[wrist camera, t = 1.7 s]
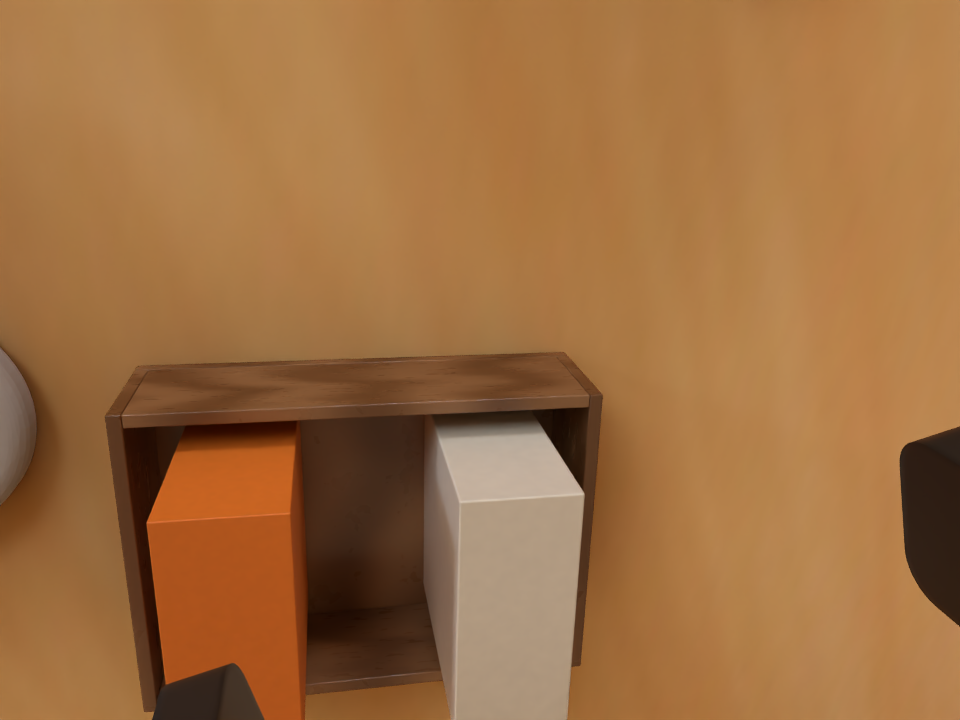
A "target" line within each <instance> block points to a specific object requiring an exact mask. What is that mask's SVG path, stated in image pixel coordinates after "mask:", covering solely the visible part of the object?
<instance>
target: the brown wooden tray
mask: <svg viewBox="0 0 960 720" xmlns="http://www.w3.org/2000/svg"><path fill="white" fill-rule="evenodd" d="M602 399H603V395H602V393H601V392H600V391H599V390H598V389H597V388H596V387H595V386H594V385H593V383H592V382H591V381H590V380H589V379H588V378H587V377H586V376H585V375H584V374H583V372H582V371H581V370H580V369H579V368H578V367H577V366H576V365H575V364H574V362H573V361H572V360H571V359H570V358H569V357H568V356H567V355H566V354H565V353H564V352H559V353H528V354H497V355H466V356H435V357H404V358H373V359H342V360H310V361H279V362H248V363H217V364H186V365H155V366H138V367H137V368H136V370H135V371H134V373H133V374H132V376H131V377H130V379H129V380H128V382H127V383H126V385H125V386H124V388H123V389H122V391H121V392H120V394H119V395H118V397H117V399H116V400H115V402H114V403H113V405H112V406H111V408H110V409H109V411H108V412H107V414H106V415H105V421H106V429H107V436H108V444H109V451H110V459H111V466H112V474H113V481H114V489H115V497H116V504H117V512H118V519H119V527H120V534H121V542H122V549H123V557H124V565H125V572H126V580H127V587H128V595H129V602H130V610H131V617H132V625H133V632H134V640H135V648H136V655H137V663H138V670H139V678H140V685H141V693H142V700H143V708H144V712H152V711H155V708H156V704H157V700H158V697H159V694H160V691H161V690H162V688H163V687H164V686H165V685H166V682H165V674H164V665H163V657H162V649H161V640H160V632H159V624H158V615H157V607H156V599H155V590H154V582H153V573H152V565H151V557H150V548H149V540H148V532H147V521H148V518H149V516H150V513H151V511H152V508H153V506H154V503H155V501H156V498H157V496H158V493H159V491H160V488H161V486H162V483H163V481H164V478H165V476H166V473H167V471H168V468H169V466H170V463H171V461H172V458H173V456H174V453H175V451H176V448H177V446H178V443H179V441H180V438H181V436H182V433H183V431H184V428H185V426H187V425H209V424H231V423H253V422H275V421H297V420H300V432H301V453H302V473H303V494H304V515H305V536H306V557H307V578H308V620H307V656H306V692H305V695H311V694H320V693H330V692H339V691H348V690H358V689H367V688H376V687H386V686H395V685H405V684H414V683H423V682H433V681H442V680H443V677H442V672H441V667H440V663H439V658H438V653H437V648H436V643H435V638H434V633H433V628H432V623H431V618H430V613H429V608H428V603H427V598H426V593H425V589H424V584H423V579H424V417H425V415H429V414H451V413H473V412H495V411H517V410H531V411H532V412H533V414H534V416H535V417H536V419H537V420H538V422H539V423H540V425H541V426H542V428H543V430H544V431H545V433H546V434H547V436H548V437H549V439H550V441H551V442H552V444H553V445H554V447H555V448H556V450H557V451H558V453H559V455H560V456H561V458H562V459H563V461H564V462H565V464H566V466H567V467H568V469H569V470H570V472H571V473H572V475H573V476H574V478H575V480H576V481H577V483H578V484H579V486H580V487H581V489H582V490H583V492H584V494H585V498H584V511H583V524H582V537H581V549H580V562H579V575H578V588H577V600H576V613H575V626H574V639H573V652H572V664H571V667H573V666H580V665H581V653H582V641H583V629H584V616H585V604H586V592H587V580H588V568H589V556H590V544H591V532H592V520H593V508H594V495H595V483H596V471H597V459H598V447H599V435H600V423H601V411H602Z"/></svg>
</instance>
